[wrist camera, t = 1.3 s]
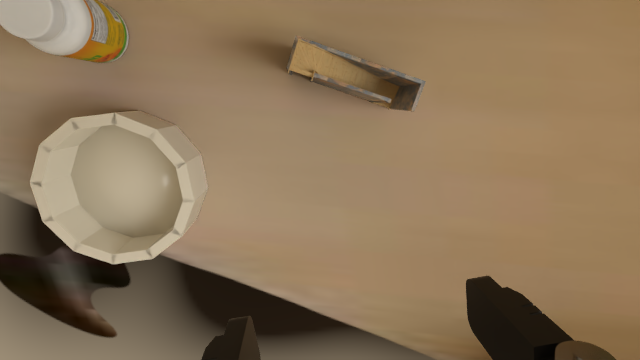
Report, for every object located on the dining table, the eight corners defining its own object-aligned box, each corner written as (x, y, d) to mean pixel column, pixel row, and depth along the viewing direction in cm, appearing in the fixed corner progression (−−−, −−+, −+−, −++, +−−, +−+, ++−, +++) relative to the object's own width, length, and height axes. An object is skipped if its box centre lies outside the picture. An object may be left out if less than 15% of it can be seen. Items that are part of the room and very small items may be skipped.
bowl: (51, 121, 34) (10, 125, 29) (190, 104, 35) (173, 105, 30) (90, 249, 38) (59, 271, 33) (217, 232, 38) (205, 251, 33)
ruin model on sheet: (287, 78, 35) (283, 71, 26) (296, 49, 34) (295, 30, 25) (389, 112, 37) (421, 117, 27) (399, 85, 36) (435, 80, 27)
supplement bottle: (73, 60, 33) (-17, 44, 24) (70, 0, 32) (-26, -42, 22) (131, 66, 34) (65, 54, 24) (130, 7, 32) (60, -31, 23)
